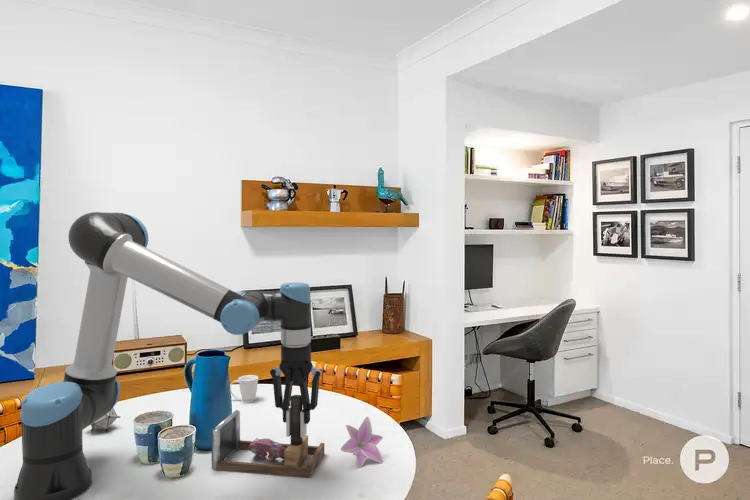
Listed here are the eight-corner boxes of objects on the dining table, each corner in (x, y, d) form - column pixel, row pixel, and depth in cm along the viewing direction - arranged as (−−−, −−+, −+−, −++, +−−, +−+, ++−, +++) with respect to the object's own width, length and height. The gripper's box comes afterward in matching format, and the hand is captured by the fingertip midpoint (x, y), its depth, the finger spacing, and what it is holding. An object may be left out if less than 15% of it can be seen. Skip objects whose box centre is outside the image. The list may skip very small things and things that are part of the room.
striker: (296, 471, 125) (295, 403, 125) (284, 471, 126) (284, 403, 125) (308, 454, 135) (307, 390, 134) (297, 453, 136) (296, 390, 135)
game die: (109, 439, 153) (131, 410, 156) (92, 441, 145) (115, 410, 148) (89, 422, 156) (111, 393, 158) (71, 422, 148) (94, 392, 150)
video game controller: (251, 462, 134) (243, 444, 131) (260, 448, 138) (253, 430, 135) (283, 469, 131) (277, 450, 128) (291, 455, 135) (285, 436, 131)
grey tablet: (218, 470, 127) (217, 428, 126) (210, 469, 127) (209, 428, 127) (241, 447, 140) (240, 409, 140) (234, 446, 141) (233, 408, 140)
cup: (256, 404, 174) (255, 380, 173) (226, 404, 174) (226, 380, 174) (261, 397, 181) (260, 374, 180) (233, 397, 181) (232, 374, 181)
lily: (332, 472, 129) (345, 445, 125) (334, 436, 139) (346, 410, 135) (377, 482, 131) (390, 456, 127) (375, 446, 141) (388, 421, 138)
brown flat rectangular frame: (310, 477, 123) (310, 465, 123) (216, 469, 127) (216, 457, 127) (324, 454, 136) (324, 443, 136) (238, 447, 140) (238, 436, 140)
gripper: (330, 341, 131) (330, 431, 133) (271, 339, 134) (271, 427, 135) (322, 348, 124) (323, 443, 125) (260, 346, 127) (261, 438, 128)
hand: (296, 434), depth 130 cm, fingers closed on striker, 3 cm apart
